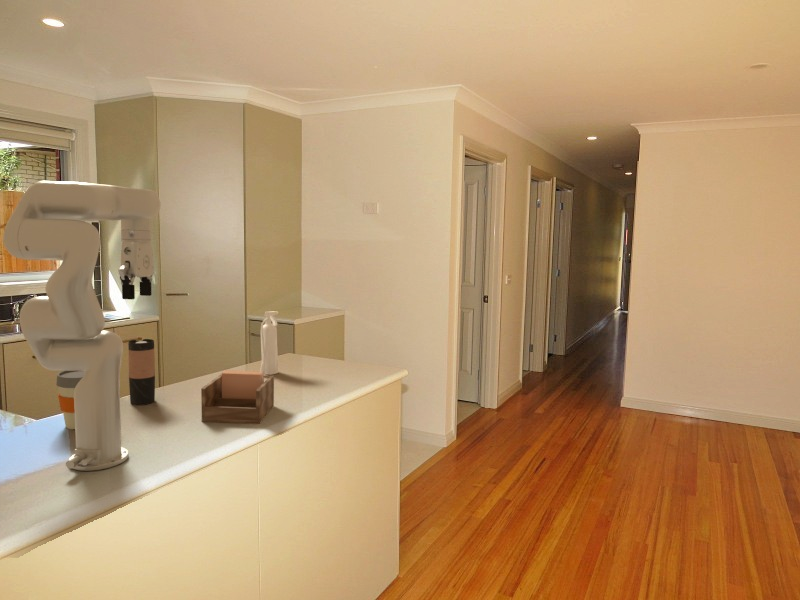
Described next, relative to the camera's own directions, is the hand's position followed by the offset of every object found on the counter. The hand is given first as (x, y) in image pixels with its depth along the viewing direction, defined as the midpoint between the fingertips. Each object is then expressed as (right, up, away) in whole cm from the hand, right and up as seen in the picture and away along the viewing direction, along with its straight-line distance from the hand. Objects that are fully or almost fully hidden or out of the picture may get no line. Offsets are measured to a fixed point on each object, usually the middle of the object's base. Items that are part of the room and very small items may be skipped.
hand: (137, 297), depth 155 cm
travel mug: (-9, -34, +22) cm, 41 cm away
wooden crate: (+25, -36, +14) cm, 46 cm away
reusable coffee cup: (-15, -36, 0) cm, 39 cm away
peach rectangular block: (+25, -34, +17) cm, 46 cm away
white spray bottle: (+22, -30, +63) cm, 74 cm away
